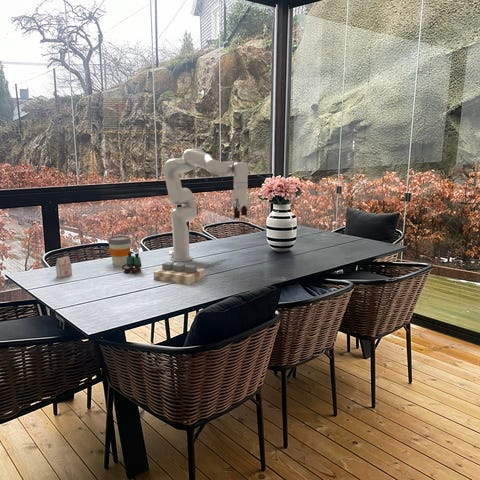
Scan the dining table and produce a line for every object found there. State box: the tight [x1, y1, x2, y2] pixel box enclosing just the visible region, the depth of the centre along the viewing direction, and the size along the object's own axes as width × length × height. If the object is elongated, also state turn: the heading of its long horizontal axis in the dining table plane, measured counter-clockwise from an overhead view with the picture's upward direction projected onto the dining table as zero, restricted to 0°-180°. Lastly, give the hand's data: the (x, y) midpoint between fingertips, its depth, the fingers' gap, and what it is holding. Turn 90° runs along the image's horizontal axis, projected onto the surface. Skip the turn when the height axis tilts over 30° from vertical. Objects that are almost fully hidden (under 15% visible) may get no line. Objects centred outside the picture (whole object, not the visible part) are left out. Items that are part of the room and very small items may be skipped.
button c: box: [185, 264, 198, 274], centre depth 248 cm, size 4×4×4 cm
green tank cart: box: [121, 251, 143, 275], centre depth 261 cm, size 9×11×10 cm
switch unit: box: [153, 267, 206, 285], centre depth 252 cm, size 21×16×4 cm
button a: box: [161, 261, 175, 271], centre depth 254 cm, size 4×4×4 cm
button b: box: [173, 262, 186, 272], centre depth 251 cm, size 4×4×4 cm
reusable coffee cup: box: [107, 235, 131, 266], centre depth 281 cm, size 13×12×15 cm
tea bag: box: [55, 256, 73, 279], centre depth 256 cm, size 4×7×10 cm, turn 141°
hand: (240, 216), depth 264 cm, fingers open, 9 cm apart
